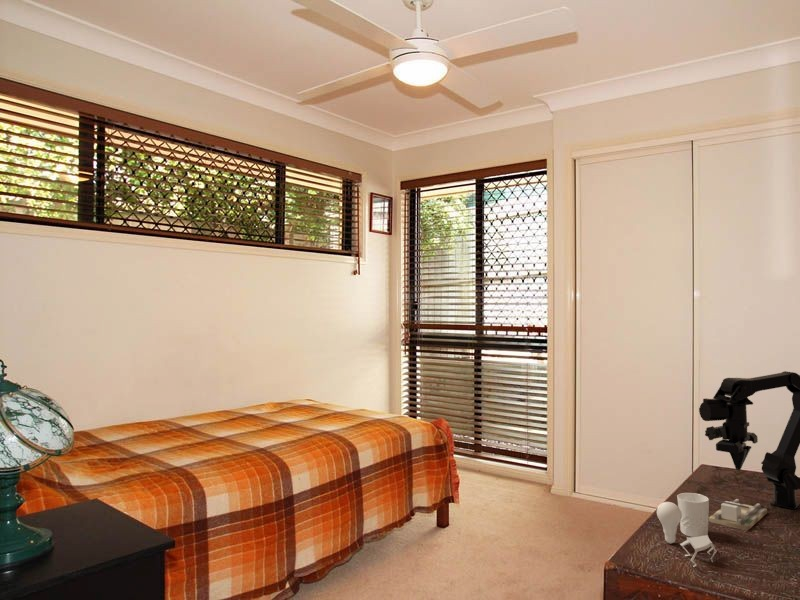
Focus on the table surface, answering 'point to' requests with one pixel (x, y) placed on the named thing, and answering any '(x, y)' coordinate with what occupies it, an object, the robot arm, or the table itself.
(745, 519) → the board
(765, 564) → the table surface
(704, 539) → the origami figure
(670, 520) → the lightbulb
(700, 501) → the white cup
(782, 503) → the robot arm
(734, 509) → the tuning slider
